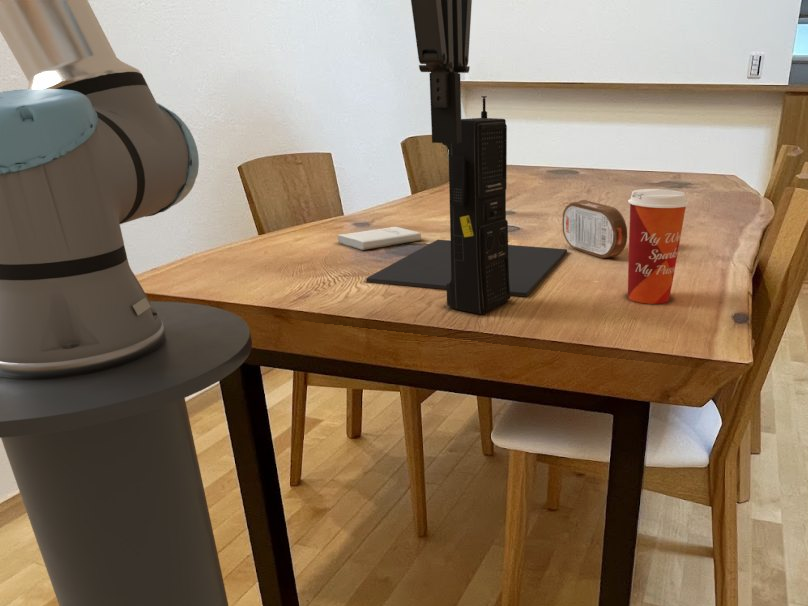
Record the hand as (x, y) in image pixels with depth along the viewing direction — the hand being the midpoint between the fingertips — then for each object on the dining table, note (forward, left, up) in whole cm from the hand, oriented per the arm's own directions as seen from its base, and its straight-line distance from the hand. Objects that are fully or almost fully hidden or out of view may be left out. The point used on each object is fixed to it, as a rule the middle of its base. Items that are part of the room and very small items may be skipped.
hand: (446, 142), depth 68 cm
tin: (+9, +45, -21) cm, 50 cm away
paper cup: (+21, +21, -21) cm, 36 cm away
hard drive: (-29, +41, -21) cm, 54 cm away
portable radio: (0, +10, -21) cm, 23 cm away
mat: (-7, +30, -21) cm, 37 cm away
